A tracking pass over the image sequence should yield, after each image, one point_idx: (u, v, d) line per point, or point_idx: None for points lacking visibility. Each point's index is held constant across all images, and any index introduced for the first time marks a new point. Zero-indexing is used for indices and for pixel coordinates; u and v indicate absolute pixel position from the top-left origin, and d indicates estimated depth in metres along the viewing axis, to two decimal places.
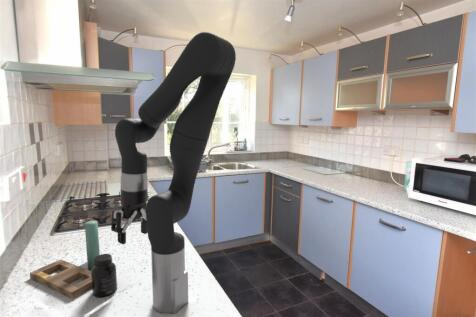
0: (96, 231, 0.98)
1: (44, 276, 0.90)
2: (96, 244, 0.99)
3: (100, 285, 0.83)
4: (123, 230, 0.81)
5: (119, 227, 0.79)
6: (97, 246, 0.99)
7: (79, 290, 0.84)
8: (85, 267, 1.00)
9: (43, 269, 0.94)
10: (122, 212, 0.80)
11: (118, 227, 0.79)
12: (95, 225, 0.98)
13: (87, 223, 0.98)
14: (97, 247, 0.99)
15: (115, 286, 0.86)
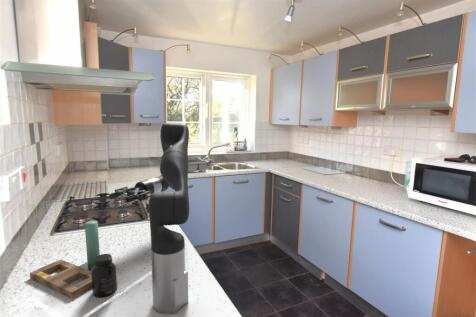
0: (96, 231, 0.98)
1: (44, 276, 0.90)
2: (96, 244, 0.99)
3: (100, 285, 0.83)
4: (118, 190, 1.14)
5: (118, 189, 1.16)
6: (97, 246, 0.99)
7: (79, 290, 0.84)
8: (85, 267, 1.00)
9: (43, 269, 0.94)
10: None
11: (118, 189, 1.16)
12: (96, 225, 0.98)
13: (87, 223, 0.98)
14: (97, 247, 0.99)
15: (115, 286, 0.86)
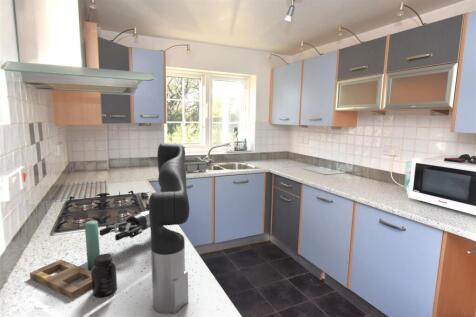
0: (96, 231, 0.98)
1: (44, 276, 0.90)
2: (96, 244, 0.99)
3: (100, 285, 0.83)
4: (109, 225, 1.11)
5: (110, 224, 1.13)
6: (97, 246, 0.99)
7: (79, 290, 0.84)
8: (85, 267, 1.00)
9: (43, 269, 0.94)
10: None
11: (109, 223, 1.13)
12: (96, 225, 0.98)
13: (87, 223, 0.98)
14: (97, 247, 0.99)
15: (115, 286, 0.86)
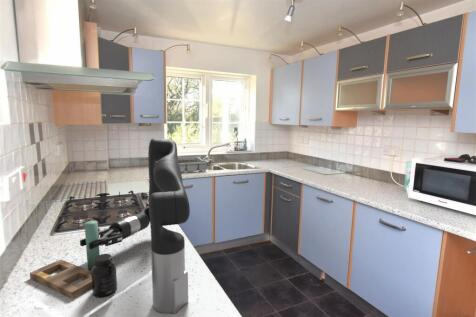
0: (96, 231, 0.98)
1: (44, 276, 0.90)
2: None
3: (100, 285, 0.83)
4: None
5: None
6: (97, 246, 0.99)
7: (79, 290, 0.84)
8: (85, 267, 1.00)
9: (43, 269, 0.94)
10: (101, 230, 1.08)
11: None
12: (95, 225, 0.98)
13: (87, 223, 0.98)
14: (97, 247, 0.99)
15: (115, 286, 0.86)
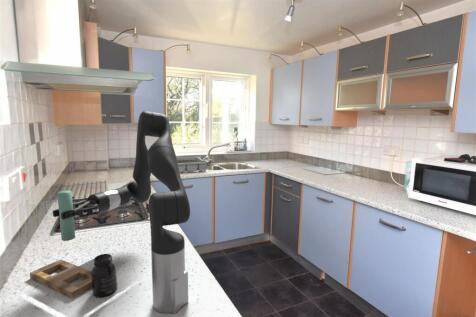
0: (70, 201, 0.93)
1: (44, 276, 0.90)
2: None
3: (100, 285, 0.83)
4: None
5: None
6: (71, 217, 0.94)
7: (79, 290, 0.84)
8: (85, 267, 1.00)
9: (43, 269, 0.94)
10: None
11: None
12: (69, 195, 0.92)
13: (60, 192, 0.92)
14: (71, 218, 0.94)
15: (115, 286, 0.86)
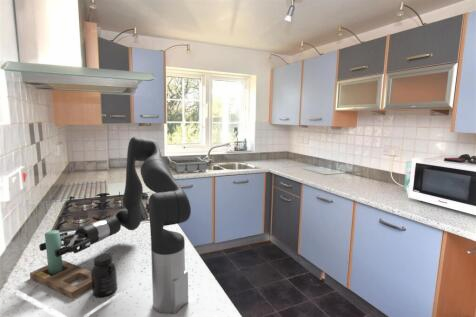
0: (57, 241, 0.92)
1: (44, 276, 0.90)
2: None
3: (100, 285, 0.83)
4: None
5: None
6: (59, 257, 0.93)
7: (79, 290, 0.84)
8: (85, 267, 1.00)
9: (43, 269, 0.94)
10: None
11: None
12: (57, 235, 0.92)
13: (47, 233, 0.91)
14: (59, 258, 0.93)
15: (115, 286, 0.86)
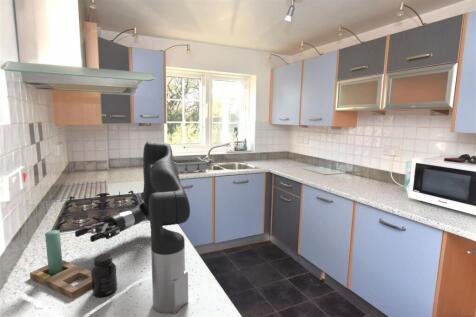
0: (58, 241, 0.92)
1: (44, 276, 0.90)
2: (58, 255, 0.93)
3: (100, 285, 0.83)
4: (85, 226, 1.08)
5: (86, 224, 1.10)
6: (59, 257, 0.93)
7: (79, 290, 0.84)
8: (85, 267, 1.00)
9: (43, 269, 0.94)
10: (98, 224, 1.13)
11: (86, 224, 1.10)
12: (57, 235, 0.92)
13: (48, 233, 0.92)
14: (59, 258, 0.93)
15: (115, 286, 0.86)
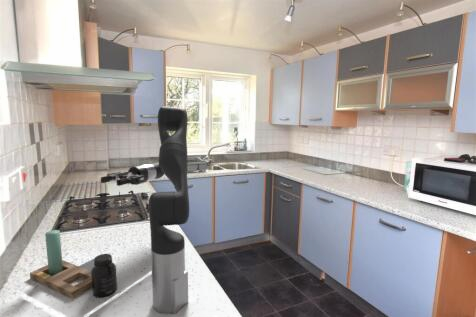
0: (58, 241, 0.92)
1: (44, 276, 0.90)
2: (58, 255, 0.93)
3: (100, 285, 0.83)
4: (110, 174, 1.10)
5: (111, 173, 1.12)
6: (59, 257, 0.93)
7: (79, 290, 0.84)
8: (85, 267, 1.00)
9: (43, 269, 0.94)
10: None
11: (110, 173, 1.12)
12: (57, 235, 0.92)
13: (48, 233, 0.92)
14: (59, 258, 0.93)
15: (115, 286, 0.86)
